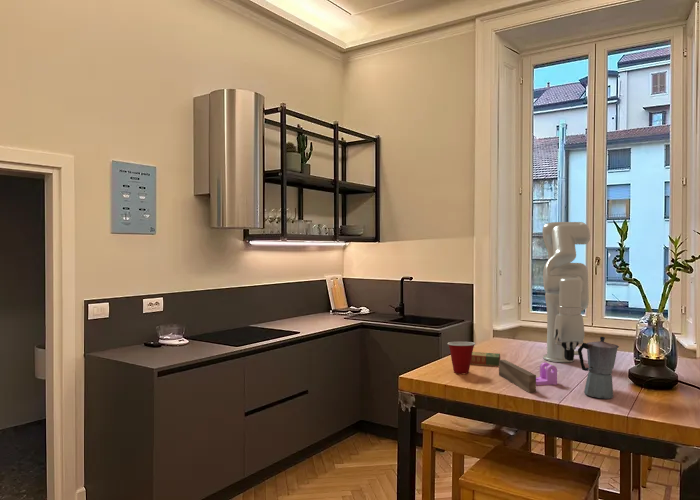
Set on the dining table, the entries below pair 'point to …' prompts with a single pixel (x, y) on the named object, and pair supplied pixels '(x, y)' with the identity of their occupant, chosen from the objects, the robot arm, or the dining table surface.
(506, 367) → the walnut board
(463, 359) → the plastic cup
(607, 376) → the moka pot
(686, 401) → the dining table surface
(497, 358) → the carton
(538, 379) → the bracket
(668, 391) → the dining table surface
